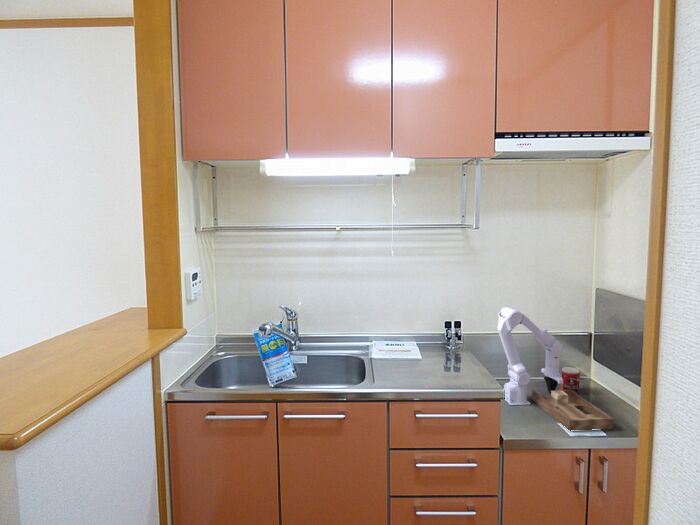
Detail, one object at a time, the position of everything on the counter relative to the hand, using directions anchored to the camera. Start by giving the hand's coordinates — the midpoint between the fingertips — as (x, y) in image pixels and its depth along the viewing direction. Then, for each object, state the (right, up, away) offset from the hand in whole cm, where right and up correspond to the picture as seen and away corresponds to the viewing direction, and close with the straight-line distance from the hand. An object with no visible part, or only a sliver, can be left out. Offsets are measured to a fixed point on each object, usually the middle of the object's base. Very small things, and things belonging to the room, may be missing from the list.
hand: (551, 392), depth 186 cm
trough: (+1, -4, -13) cm, 14 cm away
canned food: (+14, -2, +9) cm, 16 cm away
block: (0, -2, -6) cm, 7 cm away
